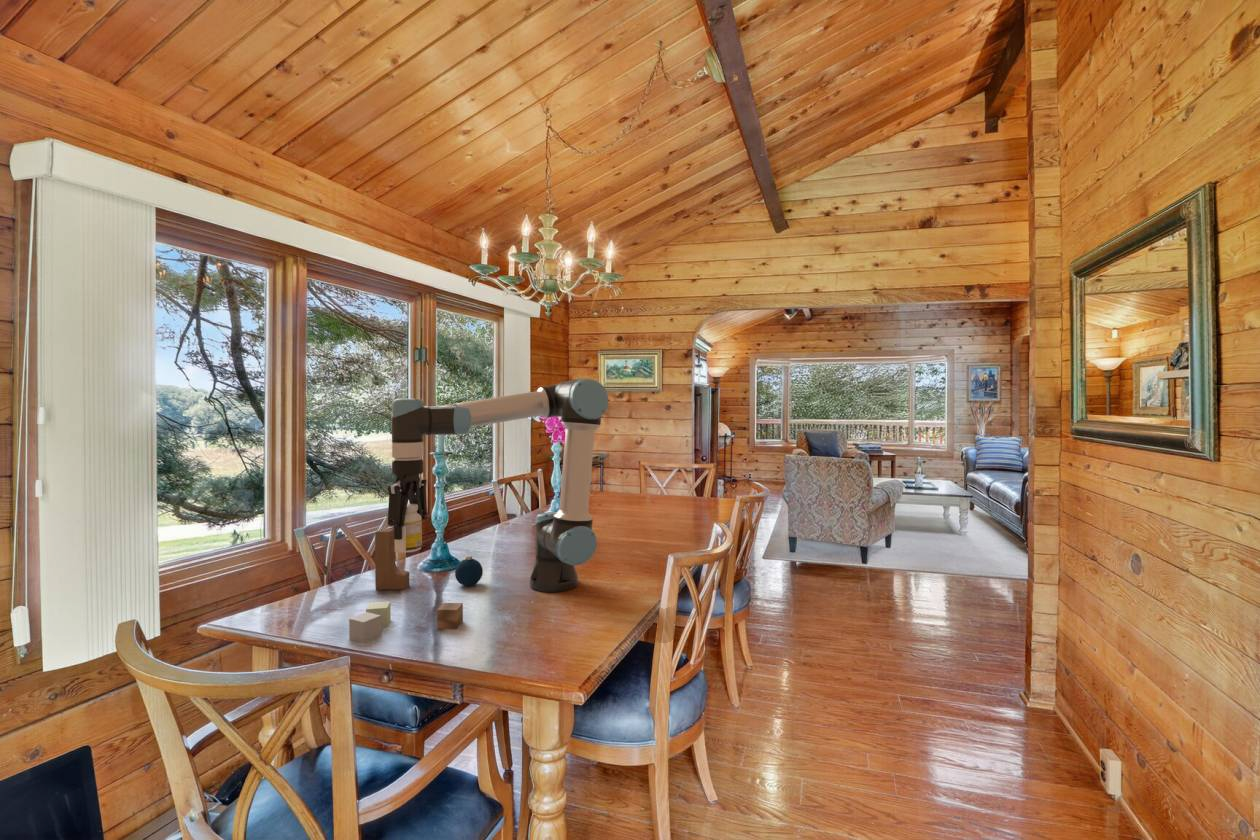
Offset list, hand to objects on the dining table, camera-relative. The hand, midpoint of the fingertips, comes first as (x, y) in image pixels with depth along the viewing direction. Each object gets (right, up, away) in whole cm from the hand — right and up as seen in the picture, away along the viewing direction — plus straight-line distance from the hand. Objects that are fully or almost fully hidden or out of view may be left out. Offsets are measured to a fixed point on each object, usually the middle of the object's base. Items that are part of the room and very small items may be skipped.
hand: (408, 548), depth 146 cm
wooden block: (-17, -19, +30) cm, 40 cm away
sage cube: (-8, -20, +1) cm, 22 cm away
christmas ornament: (+6, -19, +33) cm, 39 cm away
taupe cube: (-8, -20, -7) cm, 23 cm away
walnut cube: (+11, -20, 0) cm, 23 cm away
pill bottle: (0, -1, 0) cm, 1 cm away
